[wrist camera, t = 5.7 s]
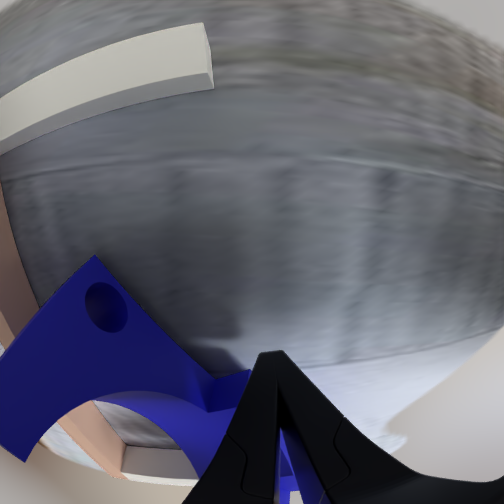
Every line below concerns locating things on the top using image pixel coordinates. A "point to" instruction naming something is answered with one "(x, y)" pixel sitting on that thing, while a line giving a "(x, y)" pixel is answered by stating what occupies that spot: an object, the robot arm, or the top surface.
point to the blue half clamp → (114, 373)
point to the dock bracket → (68, 112)
